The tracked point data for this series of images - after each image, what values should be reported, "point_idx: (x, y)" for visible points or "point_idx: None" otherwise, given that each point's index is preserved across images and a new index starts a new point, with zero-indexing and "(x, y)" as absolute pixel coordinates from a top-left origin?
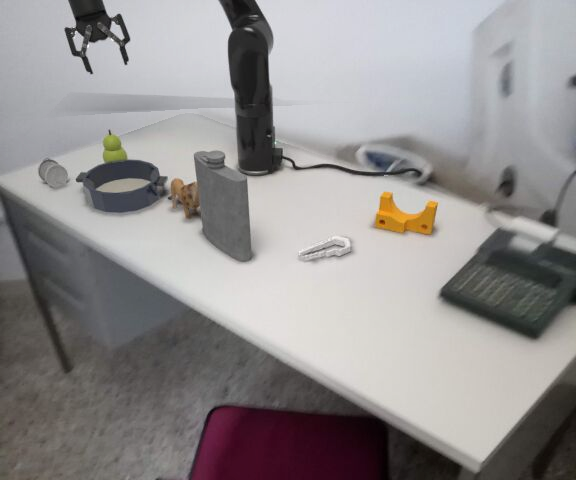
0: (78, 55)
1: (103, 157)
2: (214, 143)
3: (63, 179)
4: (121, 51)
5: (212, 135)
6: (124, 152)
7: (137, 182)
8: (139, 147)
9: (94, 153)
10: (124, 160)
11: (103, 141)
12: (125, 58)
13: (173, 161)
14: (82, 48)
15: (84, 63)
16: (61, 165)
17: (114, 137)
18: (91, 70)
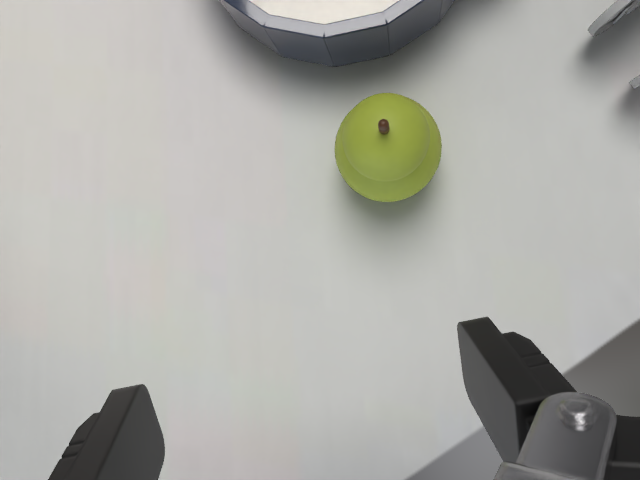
0: (638, 425)
1: (436, 124)
2: (24, 345)
3: (605, 22)
4: (93, 455)
5: (29, 424)
6: (339, 134)
7: (298, 12)
8: (313, 356)
9: (505, 325)
10: (328, 26)
11: (424, 119)
12: (101, 411)
13: (174, 202)
14: (587, 461)
15: (548, 372)
16: (622, 5)
17: (363, 114)
18: (470, 325)
